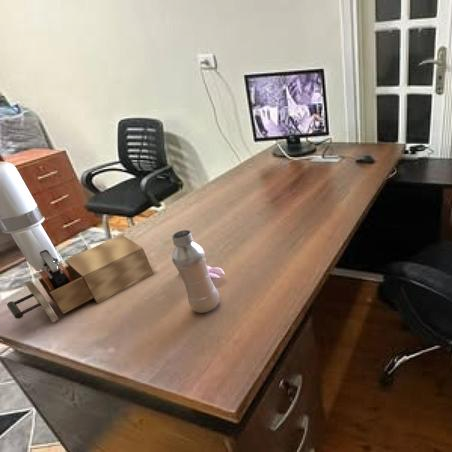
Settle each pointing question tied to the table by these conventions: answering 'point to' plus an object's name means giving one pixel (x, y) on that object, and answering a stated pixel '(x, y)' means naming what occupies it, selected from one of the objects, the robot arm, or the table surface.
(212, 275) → the rabbit figure
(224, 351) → the table surface
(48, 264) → the robot arm
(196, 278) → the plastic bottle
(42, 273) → the block
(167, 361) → the table surface
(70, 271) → the drawer
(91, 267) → the cabinet
